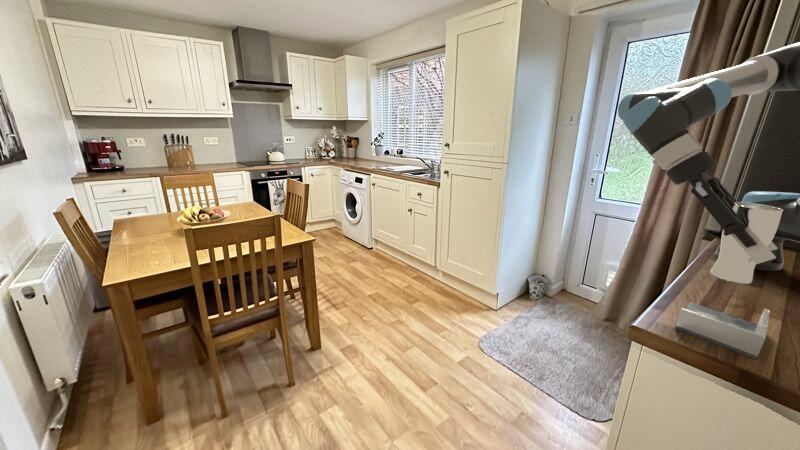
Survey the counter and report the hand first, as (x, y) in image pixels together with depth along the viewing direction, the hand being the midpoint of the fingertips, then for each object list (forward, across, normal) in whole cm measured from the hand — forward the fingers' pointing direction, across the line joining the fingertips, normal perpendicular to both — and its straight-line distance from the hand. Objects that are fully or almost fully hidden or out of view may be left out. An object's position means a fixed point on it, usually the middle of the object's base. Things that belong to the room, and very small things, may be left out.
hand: (767, 255), depth 61 cm
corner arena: (+11, 0, -14) cm, 18 cm away
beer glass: (+2, 0, -7) cm, 7 cm away
